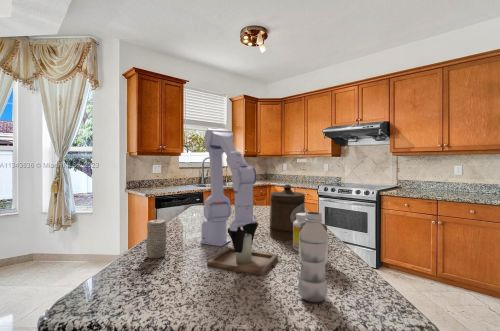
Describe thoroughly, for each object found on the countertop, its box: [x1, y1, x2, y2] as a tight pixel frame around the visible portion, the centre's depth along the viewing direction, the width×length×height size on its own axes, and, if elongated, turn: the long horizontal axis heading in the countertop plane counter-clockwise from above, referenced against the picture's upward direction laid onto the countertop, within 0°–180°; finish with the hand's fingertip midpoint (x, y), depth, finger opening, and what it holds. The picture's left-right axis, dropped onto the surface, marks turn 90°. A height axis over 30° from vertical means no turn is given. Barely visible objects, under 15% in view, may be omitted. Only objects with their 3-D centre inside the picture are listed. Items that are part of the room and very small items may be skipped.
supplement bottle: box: [292, 212, 306, 252], centre depth 96 cm, size 7×7×13 cm
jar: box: [298, 222, 329, 266], centre depth 83 cm, size 9×8×12 cm
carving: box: [145, 218, 168, 260], centre depth 88 cm, size 6×8×12 cm
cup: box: [236, 233, 253, 264], centre depth 83 cm, size 5×5×8 cm
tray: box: [206, 246, 279, 278], centre depth 83 cm, size 18×14×2 cm
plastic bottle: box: [297, 211, 329, 303], centre depth 61 cm, size 6×7×20 cm
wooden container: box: [269, 184, 306, 241], centre depth 113 cm, size 15×15×22 cm
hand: (243, 248), depth 83 cm, fingers open, 7 cm apart
